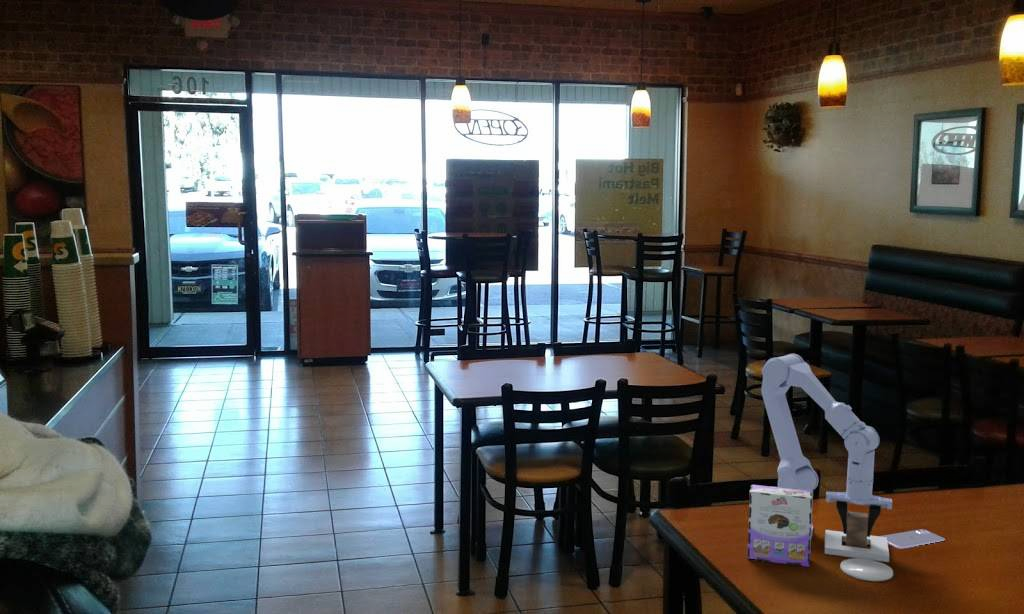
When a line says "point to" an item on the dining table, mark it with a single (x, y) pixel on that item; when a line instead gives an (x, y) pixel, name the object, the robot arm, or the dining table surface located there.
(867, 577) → the ceramic coaster
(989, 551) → the dining table surface
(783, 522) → the candy box
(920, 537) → the mobile phone
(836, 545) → the pocket plate
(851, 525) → the walnut block
